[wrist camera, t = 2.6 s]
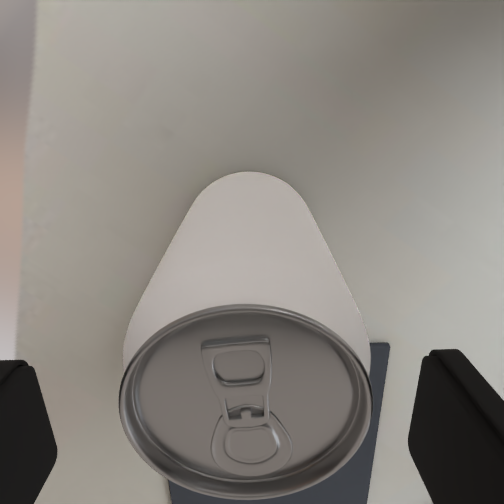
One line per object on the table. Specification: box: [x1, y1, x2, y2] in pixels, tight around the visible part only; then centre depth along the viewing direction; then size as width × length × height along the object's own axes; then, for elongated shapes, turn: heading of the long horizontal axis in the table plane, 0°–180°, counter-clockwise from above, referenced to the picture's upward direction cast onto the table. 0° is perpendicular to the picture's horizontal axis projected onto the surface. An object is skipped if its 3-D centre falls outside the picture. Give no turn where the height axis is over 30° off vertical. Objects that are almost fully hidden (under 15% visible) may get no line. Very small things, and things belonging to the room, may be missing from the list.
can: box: [119, 172, 373, 500], centre depth 14 cm, size 6×6×12 cm
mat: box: [168, 343, 390, 504], centre depth 26 cm, size 20×14×1 cm
